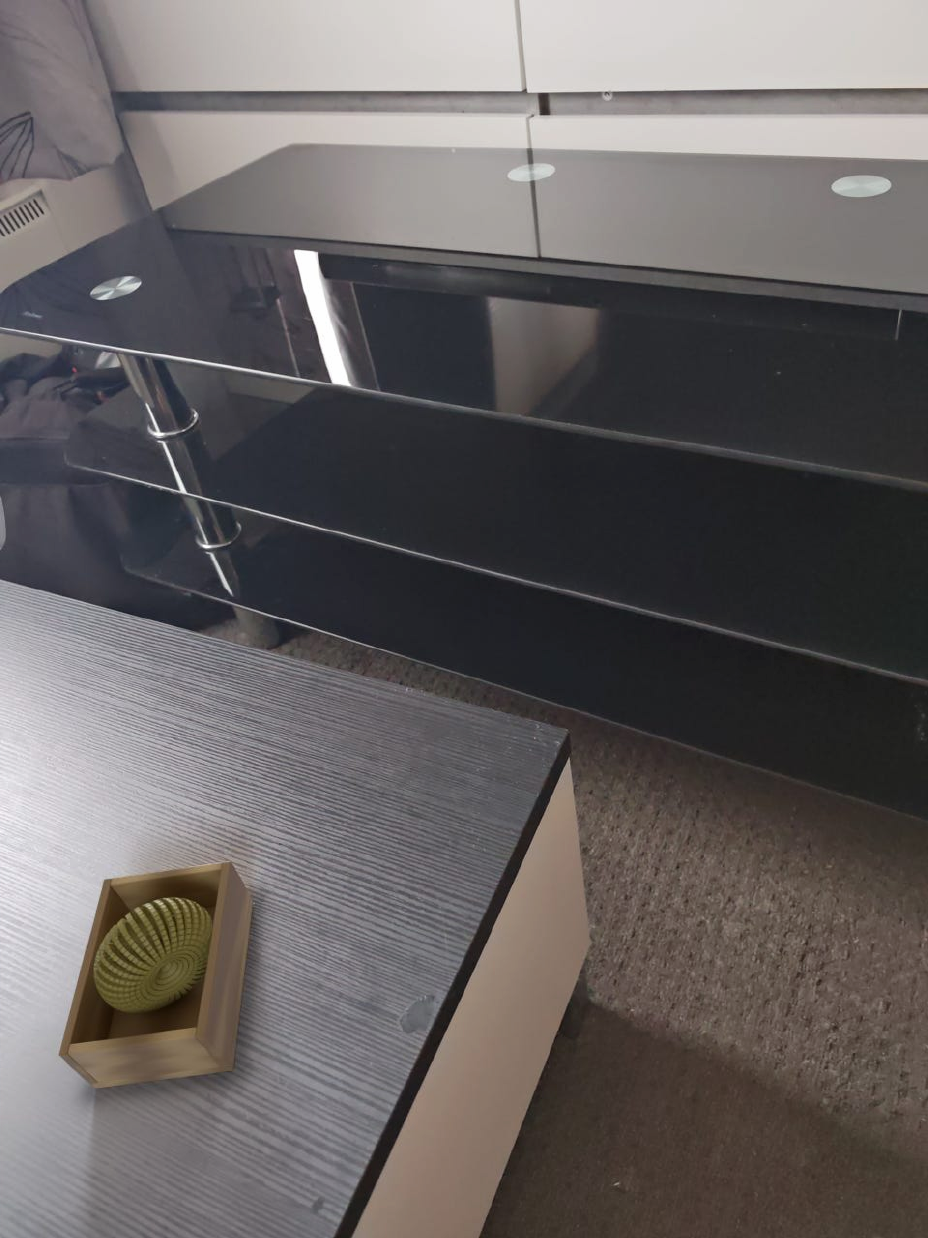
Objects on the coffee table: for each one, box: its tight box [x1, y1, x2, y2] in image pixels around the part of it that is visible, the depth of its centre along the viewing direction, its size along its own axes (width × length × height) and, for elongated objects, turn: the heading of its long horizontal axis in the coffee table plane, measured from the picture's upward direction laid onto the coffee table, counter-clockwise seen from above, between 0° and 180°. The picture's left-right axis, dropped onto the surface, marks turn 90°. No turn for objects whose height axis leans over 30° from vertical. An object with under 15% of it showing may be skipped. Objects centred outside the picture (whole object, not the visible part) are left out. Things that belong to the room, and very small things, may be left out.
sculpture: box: [94, 897, 213, 1013], centre depth 60 cm, size 8×4×8 cm, turn 131°
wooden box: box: [58, 860, 254, 1090], centre depth 62 cm, size 9×12×5 cm
